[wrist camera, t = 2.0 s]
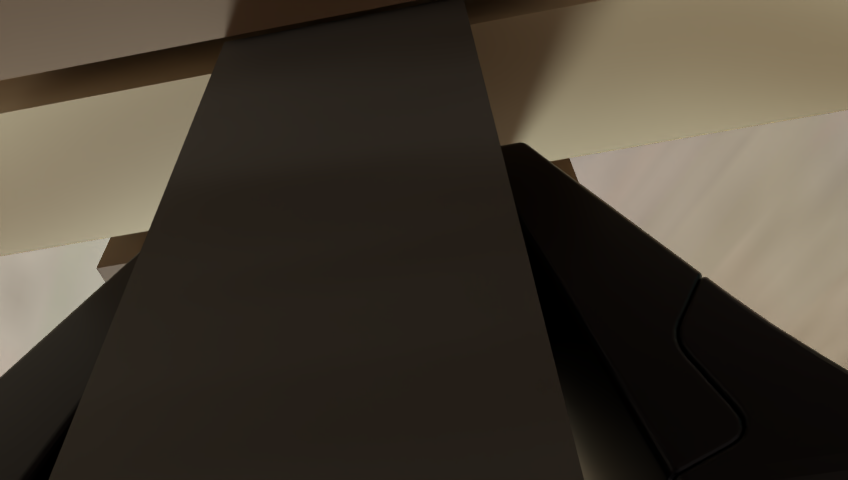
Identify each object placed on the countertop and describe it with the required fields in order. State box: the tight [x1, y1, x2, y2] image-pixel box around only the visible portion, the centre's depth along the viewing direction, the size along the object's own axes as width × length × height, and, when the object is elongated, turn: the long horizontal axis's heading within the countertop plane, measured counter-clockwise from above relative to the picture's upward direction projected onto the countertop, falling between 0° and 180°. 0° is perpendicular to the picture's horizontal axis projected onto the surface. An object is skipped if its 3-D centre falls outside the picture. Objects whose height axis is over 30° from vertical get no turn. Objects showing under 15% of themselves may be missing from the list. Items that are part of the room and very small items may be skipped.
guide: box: [0, 0, 578, 282], centre depth 11 cm, size 5×8×2 cm
